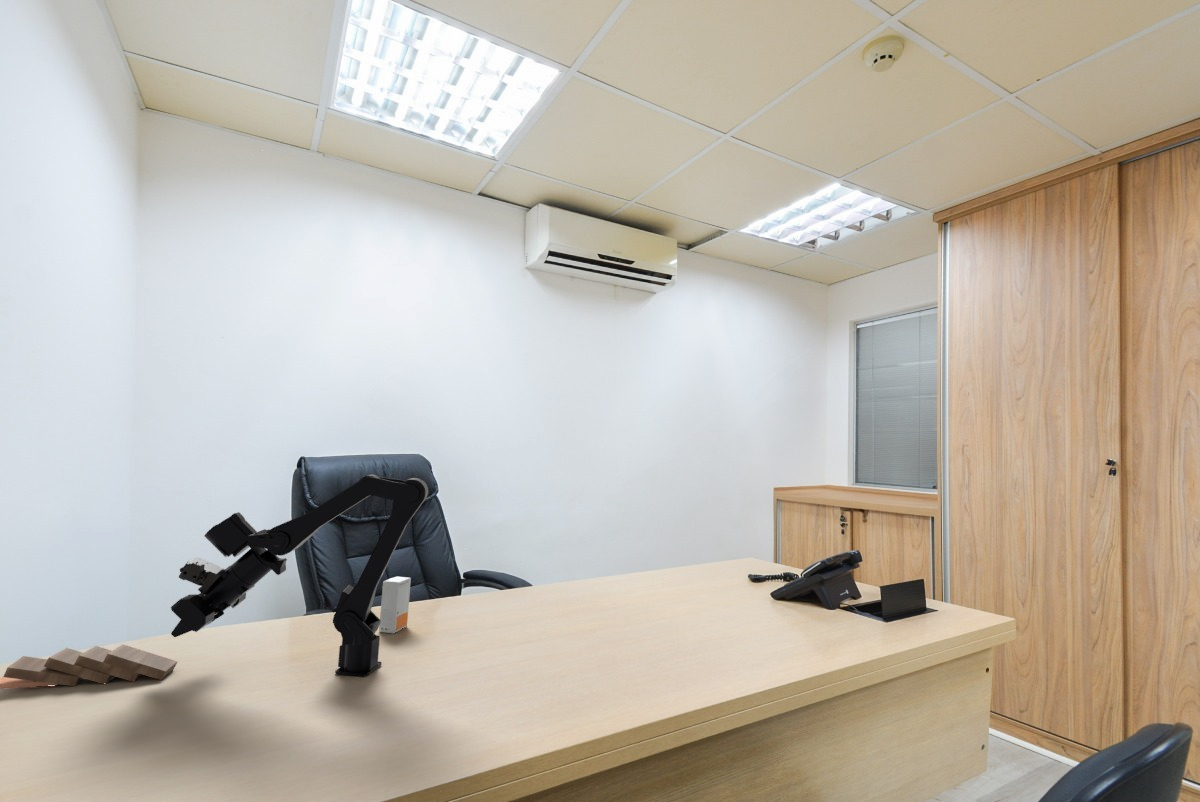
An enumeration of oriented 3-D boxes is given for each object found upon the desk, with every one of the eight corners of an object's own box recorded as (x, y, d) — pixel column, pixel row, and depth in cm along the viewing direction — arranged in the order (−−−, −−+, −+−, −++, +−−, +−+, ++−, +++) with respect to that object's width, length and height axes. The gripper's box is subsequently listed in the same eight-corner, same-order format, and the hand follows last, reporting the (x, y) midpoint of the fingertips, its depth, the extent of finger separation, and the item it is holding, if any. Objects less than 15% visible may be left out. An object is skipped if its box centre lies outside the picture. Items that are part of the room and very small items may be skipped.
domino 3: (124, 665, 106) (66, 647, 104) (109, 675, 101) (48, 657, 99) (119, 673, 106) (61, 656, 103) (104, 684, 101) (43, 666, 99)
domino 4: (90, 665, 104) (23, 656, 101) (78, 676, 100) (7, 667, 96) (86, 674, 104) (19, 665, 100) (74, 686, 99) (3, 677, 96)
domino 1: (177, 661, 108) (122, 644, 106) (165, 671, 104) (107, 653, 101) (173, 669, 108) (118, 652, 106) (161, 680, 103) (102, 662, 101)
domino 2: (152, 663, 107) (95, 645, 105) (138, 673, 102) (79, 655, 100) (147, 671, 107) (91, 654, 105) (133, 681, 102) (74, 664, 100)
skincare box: (394, 634, 134) (398, 582, 135) (378, 632, 135) (382, 581, 136) (408, 626, 140) (411, 577, 141) (392, 625, 140) (396, 575, 142)
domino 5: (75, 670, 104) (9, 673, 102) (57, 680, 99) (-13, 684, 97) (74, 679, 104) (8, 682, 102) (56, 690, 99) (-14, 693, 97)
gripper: (234, 536, 117) (169, 592, 114) (189, 553, 99) (110, 619, 96) (272, 575, 118) (208, 631, 115) (234, 598, 100) (157, 665, 97)
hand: (173, 635), depth 106 cm, fingers closed
